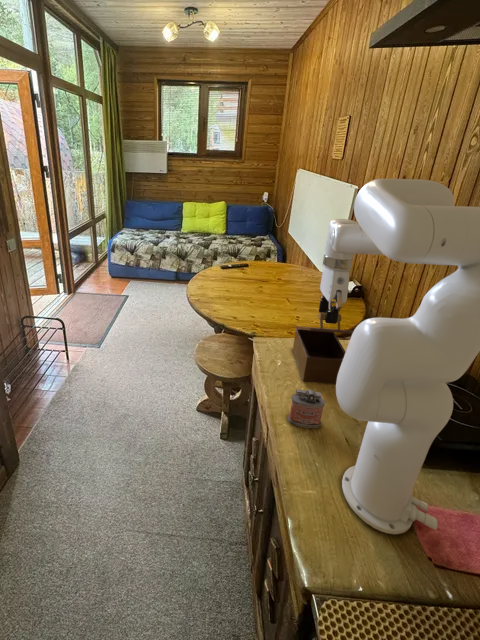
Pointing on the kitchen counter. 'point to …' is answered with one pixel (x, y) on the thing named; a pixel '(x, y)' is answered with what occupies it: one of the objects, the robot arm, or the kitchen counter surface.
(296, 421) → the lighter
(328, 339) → the chest
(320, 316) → the lid
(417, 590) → the kitchen counter surface
